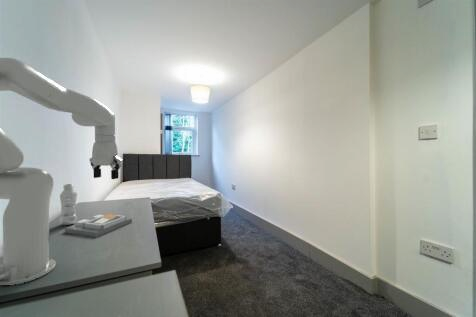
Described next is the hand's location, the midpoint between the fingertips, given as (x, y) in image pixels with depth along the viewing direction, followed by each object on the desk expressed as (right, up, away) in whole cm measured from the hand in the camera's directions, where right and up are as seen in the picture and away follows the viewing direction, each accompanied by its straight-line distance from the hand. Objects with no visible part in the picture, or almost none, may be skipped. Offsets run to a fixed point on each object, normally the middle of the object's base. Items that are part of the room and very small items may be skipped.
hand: (106, 178), depth 90 cm
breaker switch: (-5, -21, +8) cm, 23 cm away
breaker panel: (-8, -25, +9) cm, 27 cm away
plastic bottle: (-26, -25, +11) cm, 37 cm away
